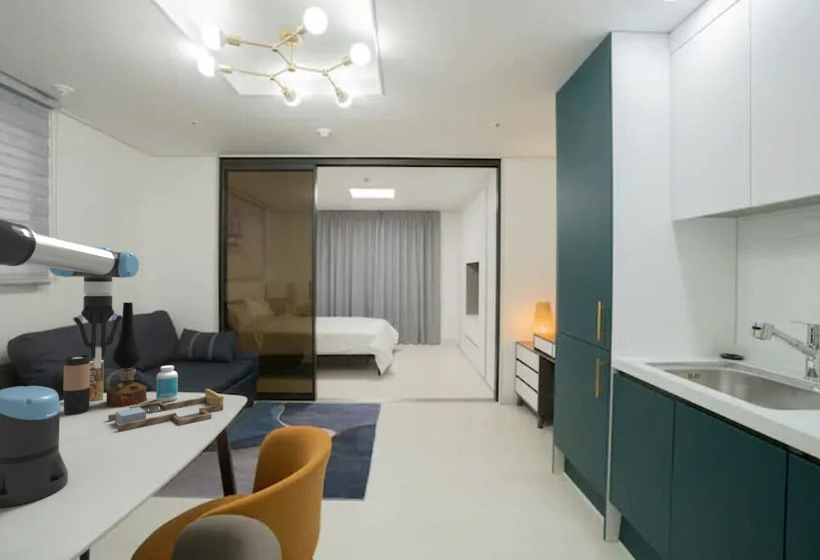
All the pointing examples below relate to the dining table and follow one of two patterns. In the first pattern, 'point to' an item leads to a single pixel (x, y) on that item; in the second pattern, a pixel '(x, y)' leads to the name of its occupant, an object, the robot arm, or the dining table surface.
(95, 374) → the candy box
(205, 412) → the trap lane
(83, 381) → the travel mug
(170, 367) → the pill bottle
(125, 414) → the slate block
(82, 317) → the robot arm
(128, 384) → the oil lamp
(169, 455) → the dining table surface
